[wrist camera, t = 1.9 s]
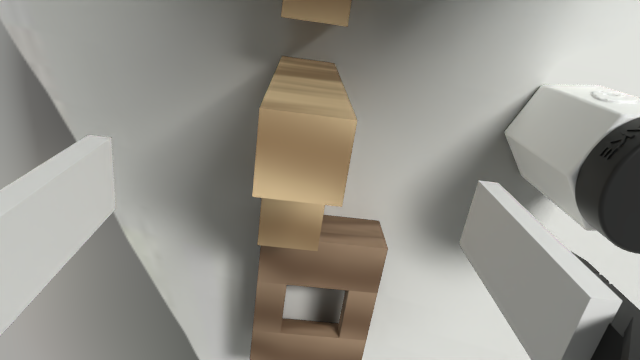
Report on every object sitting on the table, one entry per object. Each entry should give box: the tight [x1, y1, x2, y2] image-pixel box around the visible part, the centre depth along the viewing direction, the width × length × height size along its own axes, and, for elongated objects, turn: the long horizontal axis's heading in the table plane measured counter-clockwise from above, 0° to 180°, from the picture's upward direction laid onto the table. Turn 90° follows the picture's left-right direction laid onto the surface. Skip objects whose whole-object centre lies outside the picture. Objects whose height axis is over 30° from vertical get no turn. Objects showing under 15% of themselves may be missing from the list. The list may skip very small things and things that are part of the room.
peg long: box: [252, 56, 357, 207], centre depth 25 cm, size 4×4×16 cm
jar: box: [505, 84, 640, 254], centre depth 29 cm, size 9×8×12 cm
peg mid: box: [257, 198, 325, 251], centre depth 31 cm, size 4×4×9 cm
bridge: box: [250, 215, 388, 360], centre depth 38 cm, size 14×10×4 cm
